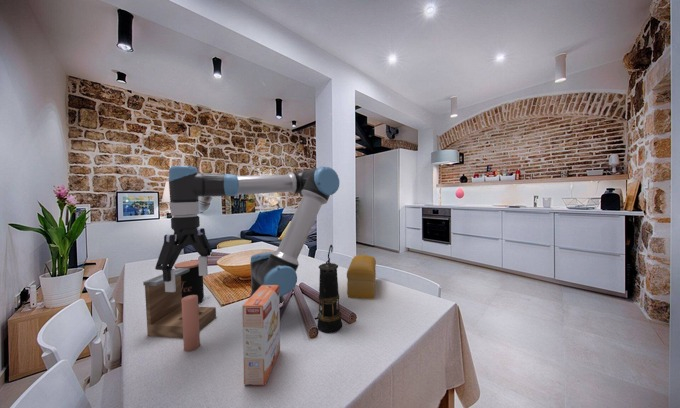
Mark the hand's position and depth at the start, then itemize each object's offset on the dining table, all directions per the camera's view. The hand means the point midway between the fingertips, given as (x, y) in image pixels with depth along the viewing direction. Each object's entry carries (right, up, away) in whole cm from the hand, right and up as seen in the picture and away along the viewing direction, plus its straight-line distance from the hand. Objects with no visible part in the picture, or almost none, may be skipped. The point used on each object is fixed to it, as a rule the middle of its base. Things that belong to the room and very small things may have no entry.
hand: (188, 282), depth 76 cm
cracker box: (+27, -21, -8) cm, 35 cm away
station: (-10, -20, +13) cm, 26 cm away
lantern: (+44, -20, +12) cm, 50 cm away
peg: (+1, -21, +1) cm, 21 cm away
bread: (+60, -18, +46) cm, 77 cm away
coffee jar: (-20, -20, +32) cm, 43 cm away
